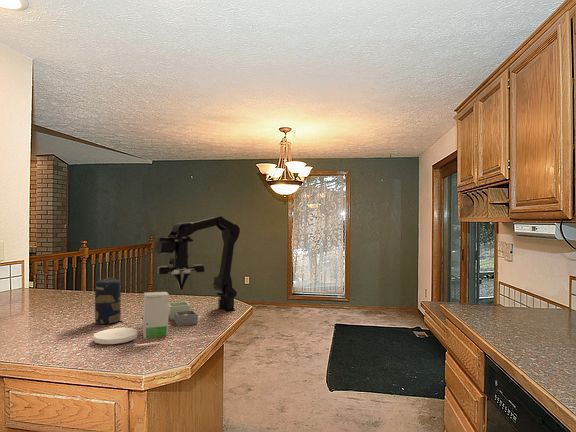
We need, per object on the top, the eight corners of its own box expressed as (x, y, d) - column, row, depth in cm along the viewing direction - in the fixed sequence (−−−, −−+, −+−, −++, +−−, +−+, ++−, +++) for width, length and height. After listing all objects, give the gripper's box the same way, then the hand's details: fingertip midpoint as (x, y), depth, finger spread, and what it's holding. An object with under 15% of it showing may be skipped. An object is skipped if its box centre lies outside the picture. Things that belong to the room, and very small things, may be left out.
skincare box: (143, 340, 138) (144, 295, 138) (142, 335, 144) (142, 292, 144) (169, 337, 141) (169, 293, 141) (166, 332, 147) (166, 290, 147)
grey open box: (193, 321, 164) (193, 310, 164) (197, 325, 157) (197, 314, 157) (174, 323, 161) (174, 311, 161) (177, 327, 154) (177, 316, 154)
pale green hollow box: (186, 315, 174) (186, 301, 174) (190, 319, 167) (190, 305, 167) (166, 317, 170) (166, 302, 171) (169, 321, 163) (170, 306, 163)
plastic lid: (123, 348, 131) (123, 340, 131) (84, 345, 133) (84, 338, 133) (145, 335, 145) (145, 328, 145) (109, 333, 147) (109, 327, 147)
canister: (125, 320, 164) (126, 276, 164) (108, 326, 155) (108, 280, 156) (107, 318, 168) (107, 275, 168) (89, 324, 159) (89, 278, 159)
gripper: (199, 250, 180) (198, 285, 180) (155, 251, 172) (155, 288, 172) (204, 252, 170) (204, 289, 170) (159, 254, 162) (159, 292, 162)
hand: (181, 289), depth 169 cm, fingers closed
